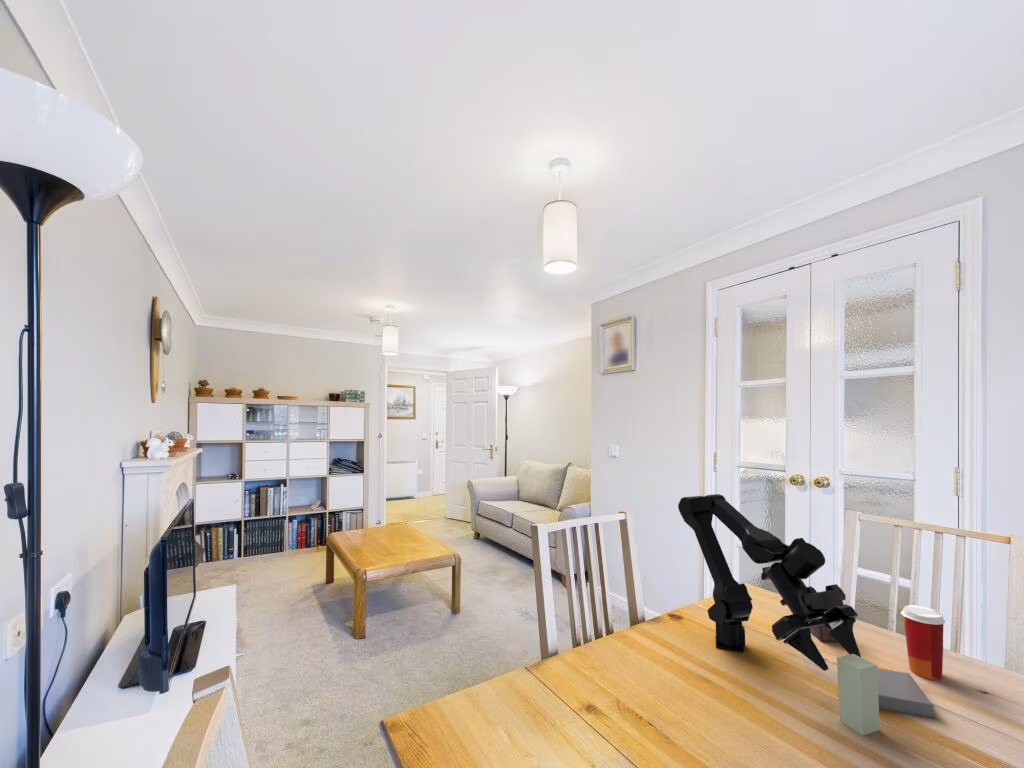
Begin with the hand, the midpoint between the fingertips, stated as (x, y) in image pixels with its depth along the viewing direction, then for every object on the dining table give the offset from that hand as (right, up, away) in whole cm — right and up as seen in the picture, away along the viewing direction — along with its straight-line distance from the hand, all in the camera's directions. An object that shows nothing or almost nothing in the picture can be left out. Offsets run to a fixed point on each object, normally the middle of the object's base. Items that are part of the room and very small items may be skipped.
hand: (843, 665), depth 95 cm
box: (+18, -12, +32) cm, 39 cm away
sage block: (+1, -10, -3) cm, 10 cm away
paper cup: (+29, -11, +15) cm, 34 cm away
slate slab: (+14, -10, +7) cm, 18 cm away
